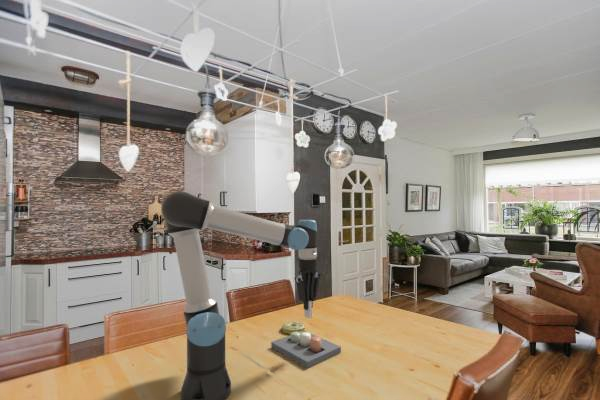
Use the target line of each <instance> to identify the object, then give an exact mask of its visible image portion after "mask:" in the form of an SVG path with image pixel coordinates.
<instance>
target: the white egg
mask: <svg viewBox="0 0 600 400" xmlns="http://www.w3.org/2000/svg"><path fill="white" fill-rule="evenodd" d="M310 333H311V332H309V333H308V331H306V332H303V333H300V345H301V346H303V347H308V346H310V338H311V334H312V333H311V334H310Z"/></svg>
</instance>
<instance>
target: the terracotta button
mask: <svg viewBox="0 0 600 400" xmlns="http://www.w3.org/2000/svg"><path fill="white" fill-rule="evenodd" d="M321 338H322V337H320V336H318V337H312V338H310V350H311V351H313V352H320V351H321V350H322V347H321Z"/></svg>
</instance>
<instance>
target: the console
mask: <svg viewBox="0 0 600 400" xmlns="http://www.w3.org/2000/svg"><path fill="white" fill-rule="evenodd" d="M303 332H308V331H306V330H305V329H304V330H303V331H300V333H303ZM308 333H310V334H311V338H312V337H319V336H318V335H316V334H313V333H311V332H308ZM320 338H321V347H322V350H321V351H320V352H313V351H311V350H310V346H308V347H303V346H301V345H300V342H298V343H296V344H295V343H293V342H291V334H288V335H286V336H284V337H282V338H279V339H276V340H273V341H271V348H272V349H274V350H275V351H276V352H278V353H280V354H282V355H284V356H285V357H287V358H289V359H291V360H293V361H294V362H296V363H298V364H300V365H301V366H303V367H305V368H307V369H310V368H312V367H313V366H315V365H318V364H320V363H323V362H324V361H326V360H329V359H331V358H332V357H334V356H337V355H338V354H341V353H342V346H340V345H338V344H335V343H333V342H331V341H328V340H327V339H325V338H323V337H320Z"/></svg>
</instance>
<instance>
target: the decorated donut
mask: <svg viewBox="0 0 600 400" xmlns="http://www.w3.org/2000/svg"><path fill="white" fill-rule="evenodd" d="M305 328H306V327H305V325H304V324H303V323H302V322H301V321H295V320H293V321H287V322H285V323H283V324H282V325H281V331H282V333H285V334H288V335H291V333H292V332H300V331H303V330H304V331H305Z"/></svg>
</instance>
